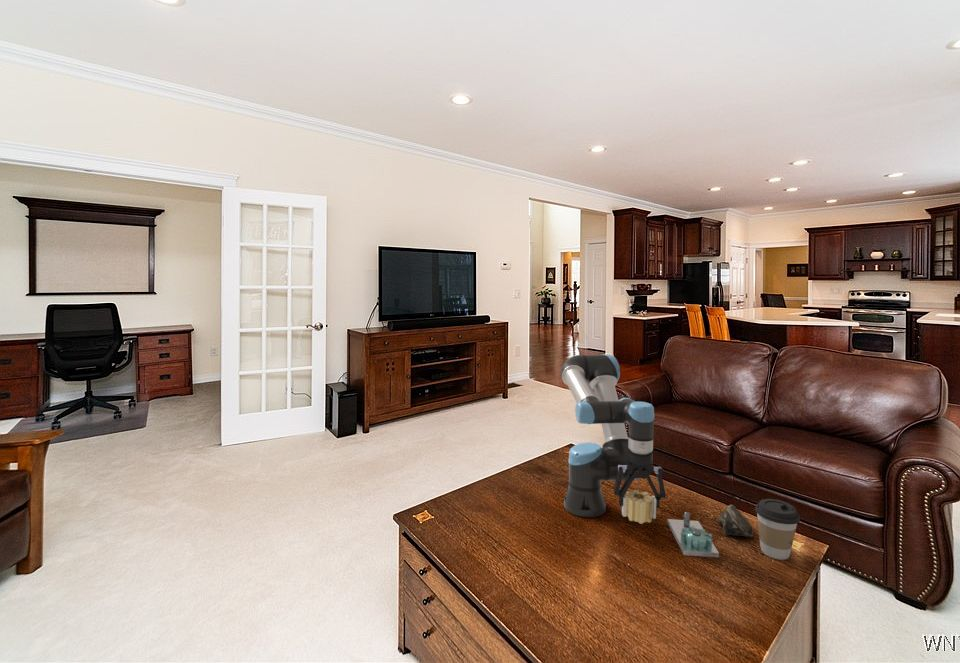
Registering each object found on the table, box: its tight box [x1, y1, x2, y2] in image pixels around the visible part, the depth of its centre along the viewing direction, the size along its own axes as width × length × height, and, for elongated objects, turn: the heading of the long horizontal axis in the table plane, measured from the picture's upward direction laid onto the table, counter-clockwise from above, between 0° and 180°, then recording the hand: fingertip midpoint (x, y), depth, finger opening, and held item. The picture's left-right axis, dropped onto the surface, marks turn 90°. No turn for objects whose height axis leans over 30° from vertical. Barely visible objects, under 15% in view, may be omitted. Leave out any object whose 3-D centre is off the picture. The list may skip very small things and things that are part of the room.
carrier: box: [666, 511, 720, 559], centre depth 140 cm, size 10×18×6 cm, turn 171°
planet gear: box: [625, 489, 654, 525], centre depth 143 cm, size 9×9×7 cm
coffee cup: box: [754, 498, 801, 561], centre depth 132 cm, size 11×11×15 cm
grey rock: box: [717, 504, 754, 539], centre depth 144 cm, size 11×9×10 cm
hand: (638, 515), depth 143 cm, fingers closed on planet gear, 9 cm apart
